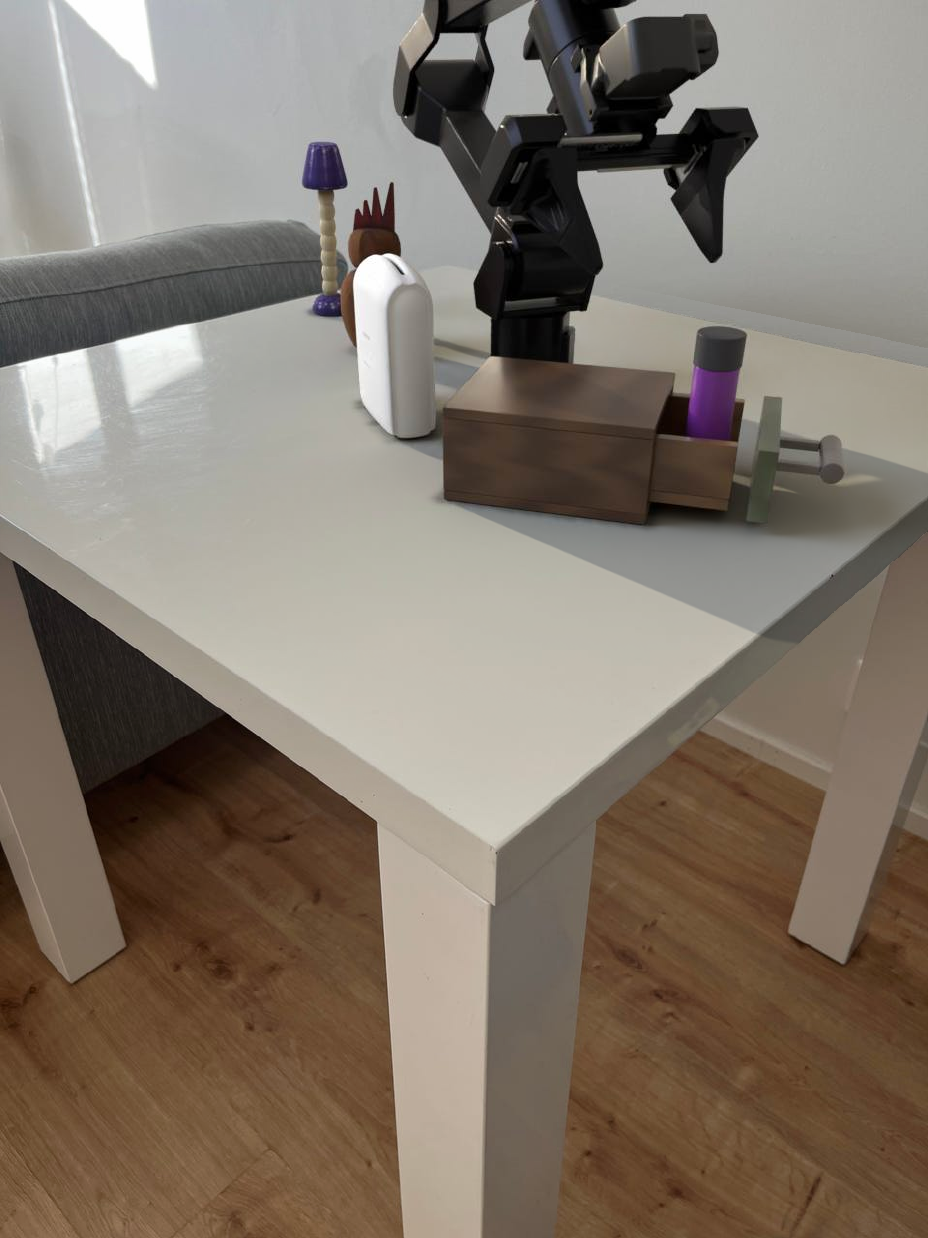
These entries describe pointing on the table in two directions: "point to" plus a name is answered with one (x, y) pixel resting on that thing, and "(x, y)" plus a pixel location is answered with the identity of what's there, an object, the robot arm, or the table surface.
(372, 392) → the photo printer
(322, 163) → the toy lamp
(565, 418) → the cabinet
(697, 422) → the glue stick
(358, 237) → the wooden figurine
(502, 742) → the table surface
